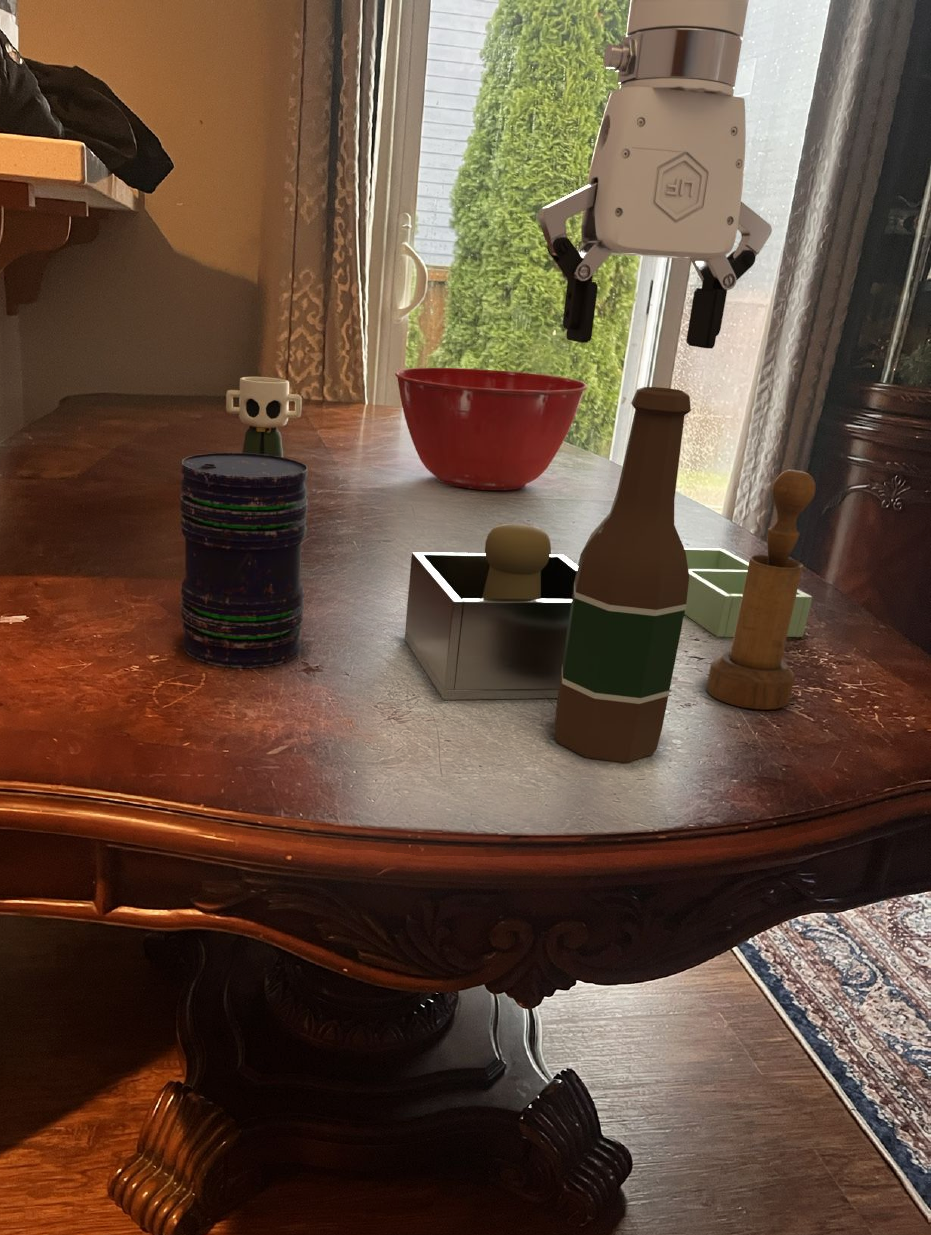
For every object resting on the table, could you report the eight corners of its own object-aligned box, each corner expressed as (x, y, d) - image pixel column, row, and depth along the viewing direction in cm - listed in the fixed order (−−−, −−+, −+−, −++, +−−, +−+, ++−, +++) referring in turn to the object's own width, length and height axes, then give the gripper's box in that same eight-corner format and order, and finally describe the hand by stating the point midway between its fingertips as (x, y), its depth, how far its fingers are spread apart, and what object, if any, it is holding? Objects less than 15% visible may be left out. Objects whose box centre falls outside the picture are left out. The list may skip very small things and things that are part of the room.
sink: (551, 639, 94) (563, 554, 91) (610, 697, 82) (626, 602, 79) (404, 639, 91) (411, 551, 88) (443, 700, 79) (453, 601, 76)
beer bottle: (572, 709, 79) (624, 378, 70) (673, 737, 76) (741, 393, 66) (531, 743, 73) (581, 385, 64) (639, 775, 70) (709, 401, 60)
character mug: (223, 472, 153) (224, 379, 147) (227, 463, 159) (228, 374, 154) (298, 477, 153) (302, 384, 148) (299, 468, 160) (302, 379, 155)
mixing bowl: (368, 488, 150) (375, 375, 144) (408, 457, 176) (415, 360, 170) (566, 510, 145) (582, 395, 139) (577, 475, 171) (591, 376, 165)
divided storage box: (715, 584, 116) (723, 548, 114) (803, 637, 100) (813, 596, 99) (639, 583, 114) (645, 547, 112) (716, 637, 98) (725, 596, 97)
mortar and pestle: (713, 674, 89) (759, 459, 82) (793, 691, 87) (847, 471, 79) (699, 698, 83) (746, 470, 76) (783, 717, 81) (841, 483, 74)
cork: (454, 657, 86) (467, 524, 81) (490, 640, 90) (505, 513, 86) (519, 677, 83) (537, 540, 78) (553, 658, 87) (572, 527, 83)
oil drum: (276, 623, 93) (281, 451, 87) (321, 661, 85) (330, 475, 79) (166, 633, 89) (163, 453, 82) (203, 674, 81) (202, 478, 75)
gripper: (578, 49, 65) (546, 342, 72) (825, 76, 69) (772, 353, 75) (537, 68, 71) (511, 335, 78) (764, 92, 75) (721, 345, 82)
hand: (639, 343), depth 77 cm, fingers open, 9 cm apart
